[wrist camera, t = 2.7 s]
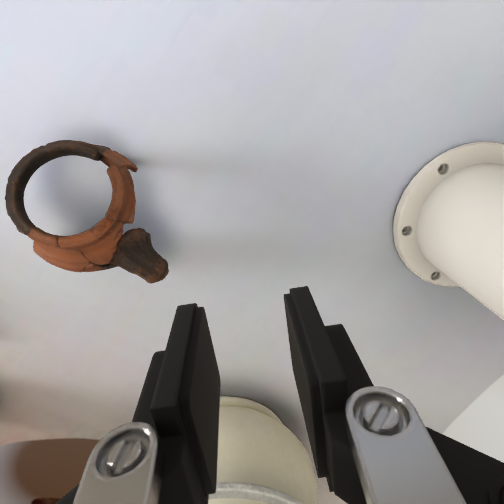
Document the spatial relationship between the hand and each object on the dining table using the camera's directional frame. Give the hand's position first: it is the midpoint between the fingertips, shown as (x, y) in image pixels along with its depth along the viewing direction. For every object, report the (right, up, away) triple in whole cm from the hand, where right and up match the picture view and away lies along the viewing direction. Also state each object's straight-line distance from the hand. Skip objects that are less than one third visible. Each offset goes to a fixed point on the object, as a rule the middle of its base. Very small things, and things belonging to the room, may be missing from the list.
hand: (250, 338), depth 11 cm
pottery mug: (-11, +6, +18) cm, 22 cm away
